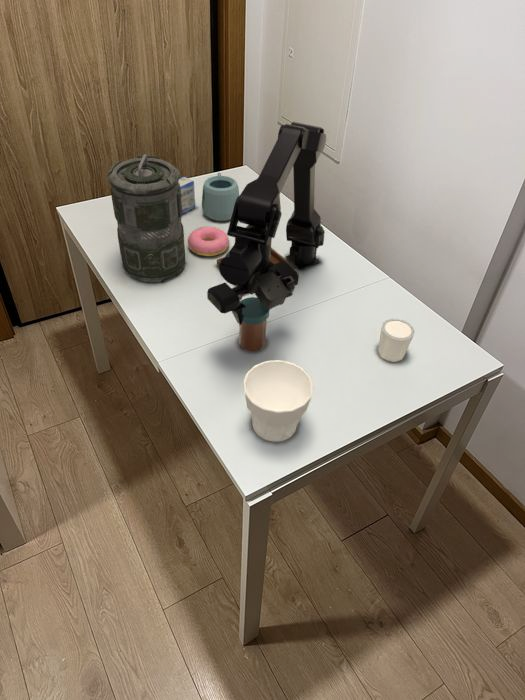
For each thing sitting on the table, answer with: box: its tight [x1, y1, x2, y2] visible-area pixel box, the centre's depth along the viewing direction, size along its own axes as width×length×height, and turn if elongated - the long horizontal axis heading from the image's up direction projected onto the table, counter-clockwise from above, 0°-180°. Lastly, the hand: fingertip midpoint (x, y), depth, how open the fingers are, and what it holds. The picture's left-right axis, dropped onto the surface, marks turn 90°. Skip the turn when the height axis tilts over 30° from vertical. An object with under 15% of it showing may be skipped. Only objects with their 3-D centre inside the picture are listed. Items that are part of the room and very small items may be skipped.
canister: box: [107, 153, 186, 283], centre depth 126 cm, size 16×16×28 cm
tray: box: [216, 247, 296, 287], centre depth 136 cm, size 15×13×2 cm
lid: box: [242, 296, 270, 324], centre depth 111 cm, size 7×7×2 cm
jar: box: [238, 319, 268, 352], centre depth 114 cm, size 6×6×10 cm
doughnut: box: [187, 226, 230, 257], centre depth 142 cm, size 11×11×4 cm
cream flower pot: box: [242, 359, 315, 442], centre depth 97 cm, size 12×12×11 cm
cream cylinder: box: [377, 318, 415, 363], centre depth 114 cm, size 7×7×7 cm
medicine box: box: [178, 176, 196, 215], centre depth 153 cm, size 8×4×9 cm, turn 141°
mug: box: [201, 172, 240, 222], centre depth 154 cm, size 15×11×10 cm
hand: (252, 318), depth 112 cm, fingers closed on lid, 6 cm apart
